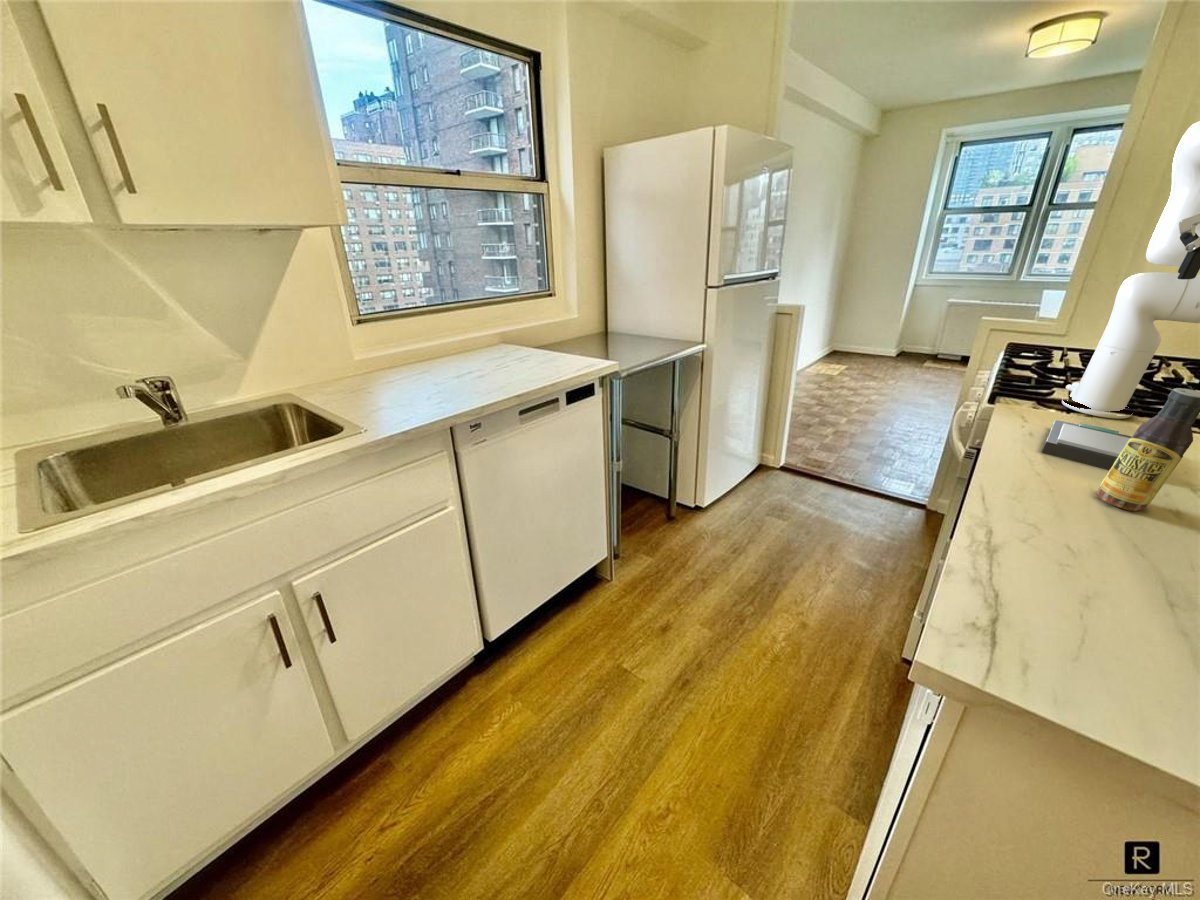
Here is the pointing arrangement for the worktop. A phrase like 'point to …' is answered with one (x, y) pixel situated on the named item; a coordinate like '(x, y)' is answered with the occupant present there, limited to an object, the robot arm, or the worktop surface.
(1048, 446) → the scale
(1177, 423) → the sauce bottle
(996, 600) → the worktop surface
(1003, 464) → the worktop surface
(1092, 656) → the worktop surface
